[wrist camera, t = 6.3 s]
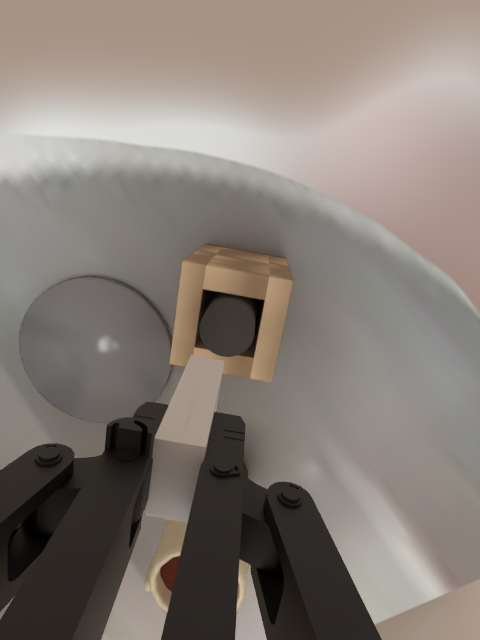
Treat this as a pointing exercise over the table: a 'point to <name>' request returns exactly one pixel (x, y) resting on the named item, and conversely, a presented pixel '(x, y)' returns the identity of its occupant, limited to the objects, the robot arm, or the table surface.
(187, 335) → the block
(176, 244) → the table surface
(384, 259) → the table surface
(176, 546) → the character mug
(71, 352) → the coaster
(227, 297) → the dark grey tall cylinder
